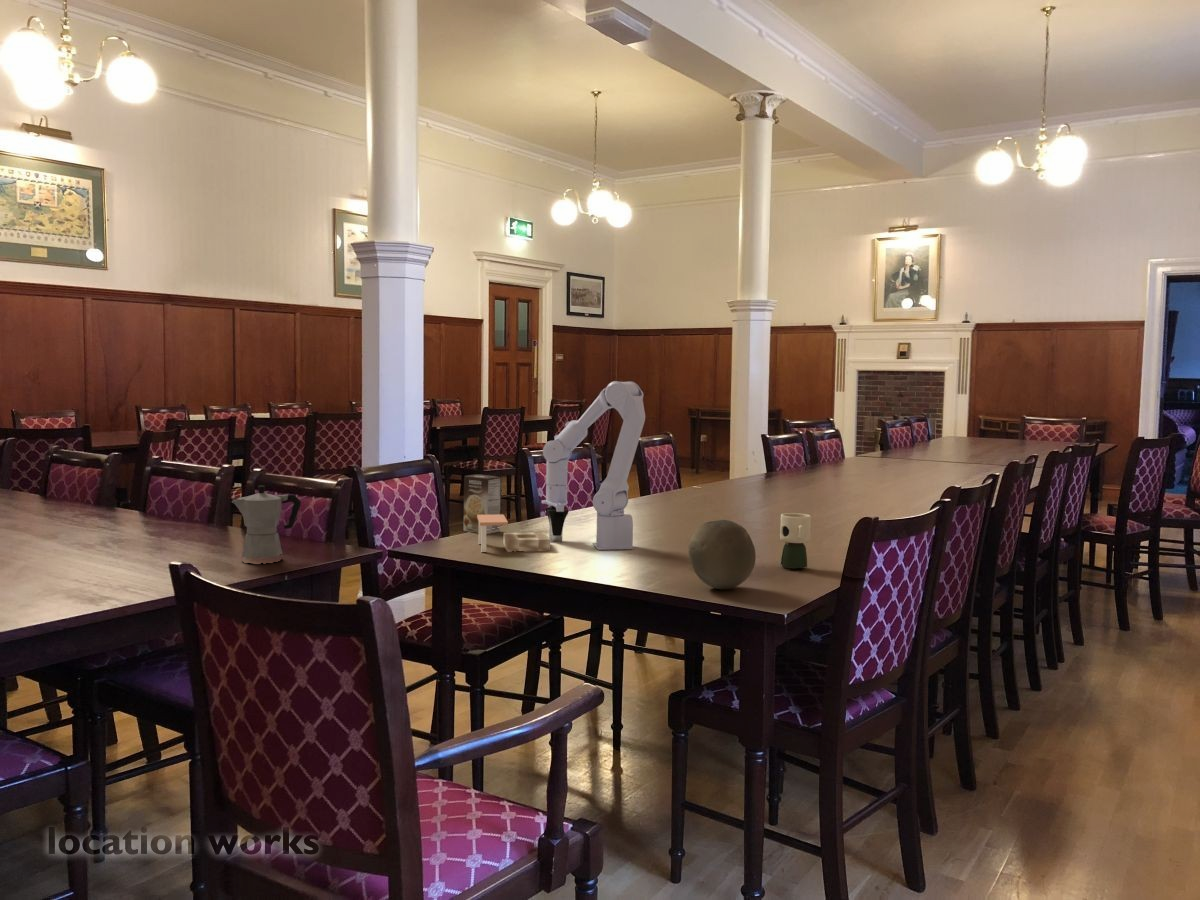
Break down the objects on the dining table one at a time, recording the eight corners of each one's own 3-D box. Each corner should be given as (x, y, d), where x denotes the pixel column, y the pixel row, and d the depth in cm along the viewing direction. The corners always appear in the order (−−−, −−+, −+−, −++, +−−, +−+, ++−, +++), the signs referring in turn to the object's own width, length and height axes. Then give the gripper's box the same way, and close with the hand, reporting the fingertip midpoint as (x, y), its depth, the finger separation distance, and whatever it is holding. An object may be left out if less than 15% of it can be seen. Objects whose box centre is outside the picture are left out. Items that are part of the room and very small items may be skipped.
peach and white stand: (503, 543, 244) (503, 514, 244) (507, 552, 232) (507, 522, 231) (476, 543, 243) (477, 514, 242) (479, 553, 230) (480, 522, 230)
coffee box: (462, 531, 262) (462, 475, 261) (476, 528, 268) (477, 473, 267) (486, 534, 258) (487, 478, 256) (501, 531, 263) (501, 476, 262)
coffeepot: (233, 566, 209) (232, 488, 207) (231, 558, 217) (230, 483, 216) (303, 562, 215) (303, 486, 214) (298, 554, 224) (298, 482, 222)
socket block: (544, 543, 246) (544, 532, 245) (549, 551, 235) (550, 539, 235) (503, 543, 243) (503, 532, 243) (507, 551, 233) (507, 540, 232)
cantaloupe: (694, 580, 204) (696, 514, 203) (758, 585, 200) (760, 518, 199) (681, 594, 190) (683, 523, 189) (749, 600, 186) (752, 527, 185)
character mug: (773, 563, 224) (775, 511, 223) (802, 564, 225) (803, 511, 224) (785, 573, 213) (787, 518, 212) (815, 573, 214) (817, 518, 213)
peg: (561, 540, 251) (561, 511, 250) (563, 542, 247) (563, 513, 247) (548, 540, 250) (548, 511, 249) (550, 542, 247) (550, 513, 246)
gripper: (538, 481, 254) (538, 529, 255) (545, 487, 240) (544, 539, 241) (563, 481, 255) (562, 529, 256) (572, 487, 241) (571, 538, 242)
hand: (555, 534), depth 249 cm, fingers closed on peg, 4 cm apart
